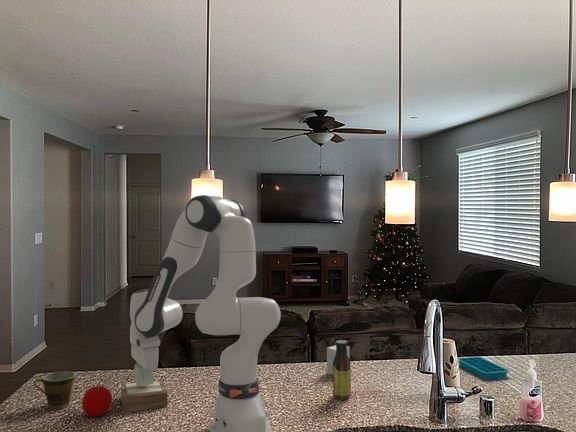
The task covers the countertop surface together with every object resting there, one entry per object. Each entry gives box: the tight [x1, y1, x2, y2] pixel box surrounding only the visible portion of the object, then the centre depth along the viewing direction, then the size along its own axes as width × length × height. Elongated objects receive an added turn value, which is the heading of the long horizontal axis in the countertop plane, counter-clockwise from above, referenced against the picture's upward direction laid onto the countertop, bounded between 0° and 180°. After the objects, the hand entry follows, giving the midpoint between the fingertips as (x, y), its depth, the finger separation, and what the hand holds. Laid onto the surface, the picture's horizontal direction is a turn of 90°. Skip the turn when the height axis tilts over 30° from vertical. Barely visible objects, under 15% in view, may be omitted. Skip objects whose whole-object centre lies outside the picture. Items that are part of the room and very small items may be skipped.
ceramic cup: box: [33, 370, 77, 410], centre depth 169 cm, size 13×10×10 cm
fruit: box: [81, 382, 113, 418], centre depth 163 cm, size 9×9×10 cm
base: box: [120, 378, 168, 413], centre depth 173 cm, size 14×14×5 cm
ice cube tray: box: [457, 356, 510, 380], centre depth 207 cm, size 12×20×3 cm, turn 14°
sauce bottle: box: [332, 339, 352, 401], centre depth 177 cm, size 7×6×20 cm
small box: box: [326, 344, 351, 376], centre depth 204 cm, size 8×6×10 cm
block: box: [134, 363, 154, 387], centre depth 173 cm, size 5×5×6 cm
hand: (143, 376), depth 173 cm, fingers closed on block, 5 cm apart
